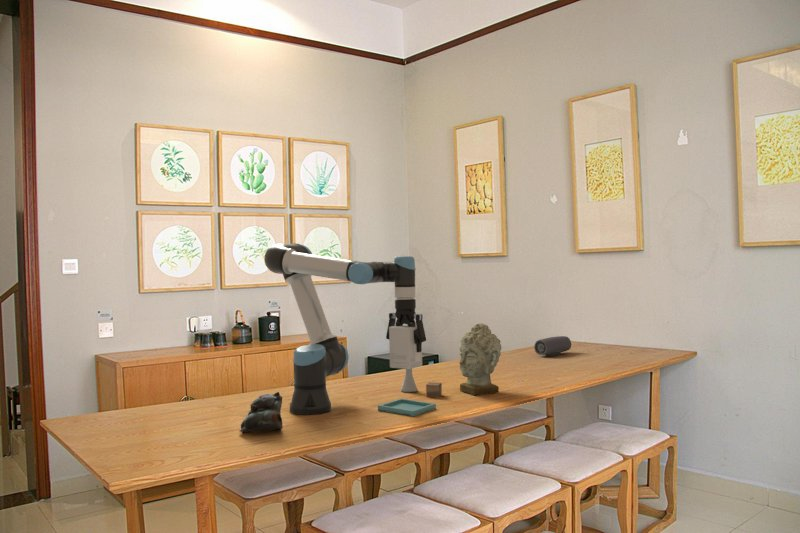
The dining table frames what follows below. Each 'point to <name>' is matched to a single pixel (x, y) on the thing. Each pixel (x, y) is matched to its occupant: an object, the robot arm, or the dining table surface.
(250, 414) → the lucky cat figurine
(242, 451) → the dining table surface
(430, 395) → the walnut block
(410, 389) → the flask
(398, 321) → the robot arm
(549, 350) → the bluetooth speaker
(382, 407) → the tray
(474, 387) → the buddha head
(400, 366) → the supplement box
